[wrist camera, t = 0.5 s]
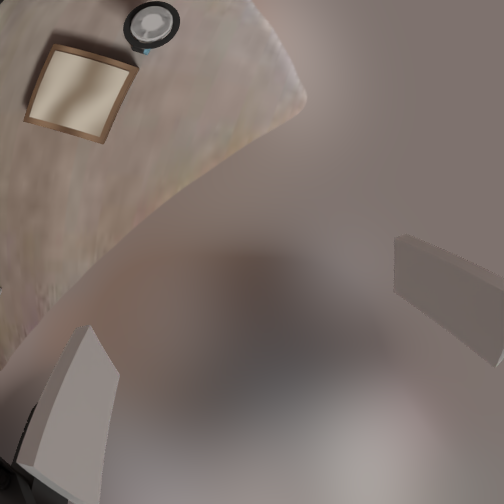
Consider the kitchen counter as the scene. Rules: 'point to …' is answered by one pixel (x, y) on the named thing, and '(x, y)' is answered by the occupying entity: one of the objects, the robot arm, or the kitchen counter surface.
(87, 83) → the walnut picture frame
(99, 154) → the kitchen counter surface
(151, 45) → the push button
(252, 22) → the kitchen counter surface
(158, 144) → the kitchen counter surface
